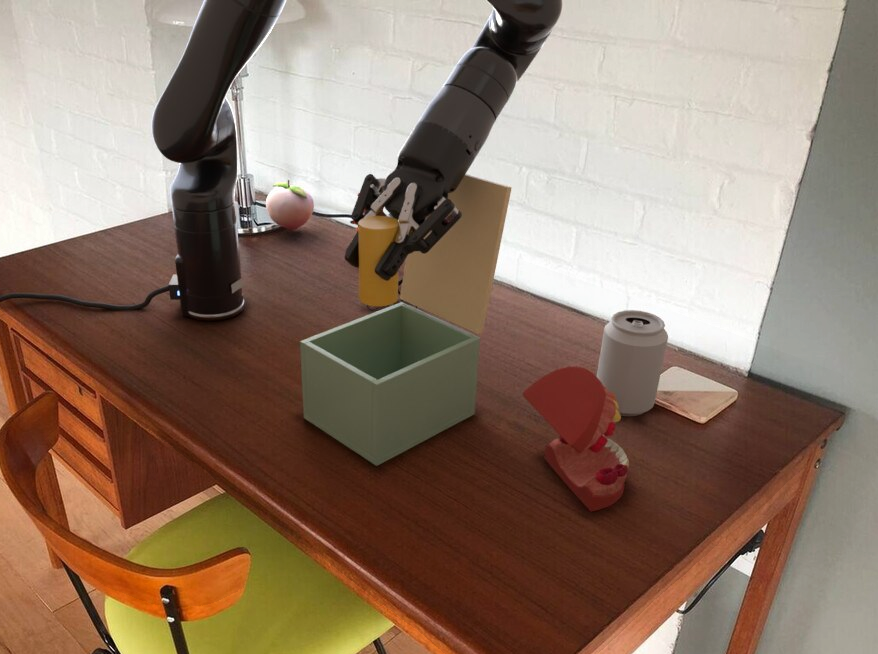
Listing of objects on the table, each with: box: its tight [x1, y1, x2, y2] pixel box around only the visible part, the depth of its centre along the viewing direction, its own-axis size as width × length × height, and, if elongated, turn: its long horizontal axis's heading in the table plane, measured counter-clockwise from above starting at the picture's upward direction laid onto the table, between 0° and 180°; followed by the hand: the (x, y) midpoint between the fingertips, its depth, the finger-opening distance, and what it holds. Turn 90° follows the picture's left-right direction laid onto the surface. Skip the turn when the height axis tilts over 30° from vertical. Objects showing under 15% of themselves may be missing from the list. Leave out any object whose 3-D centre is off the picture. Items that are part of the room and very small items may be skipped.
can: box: [596, 309, 669, 417], centre depth 103 cm, size 8×8×12 cm
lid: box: [399, 173, 512, 335], centre depth 99 cm, size 17×14×1 cm
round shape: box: [357, 216, 400, 307], centre depth 92 cm, size 4×4×9 cm
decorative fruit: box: [265, 179, 315, 232], centre depth 159 cm, size 9×8×10 cm
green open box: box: [299, 301, 481, 467], centre depth 101 cm, size 17×14×11 cm
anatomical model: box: [522, 366, 630, 513], centre depth 89 cm, size 10×8×15 cm
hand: (365, 269), depth 91 cm, fingers closed on round shape, 4 cm apart
